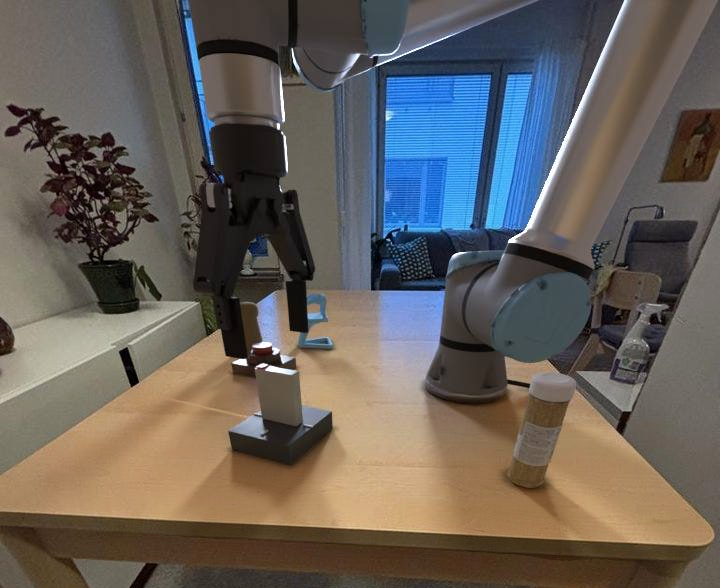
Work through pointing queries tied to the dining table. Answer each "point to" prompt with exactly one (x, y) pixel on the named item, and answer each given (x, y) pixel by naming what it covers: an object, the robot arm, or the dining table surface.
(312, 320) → the chair
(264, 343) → the button
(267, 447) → the panel
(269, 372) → the handle
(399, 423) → the dining table surface
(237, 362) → the button block
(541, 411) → the sprinkles bottle
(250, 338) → the cork
